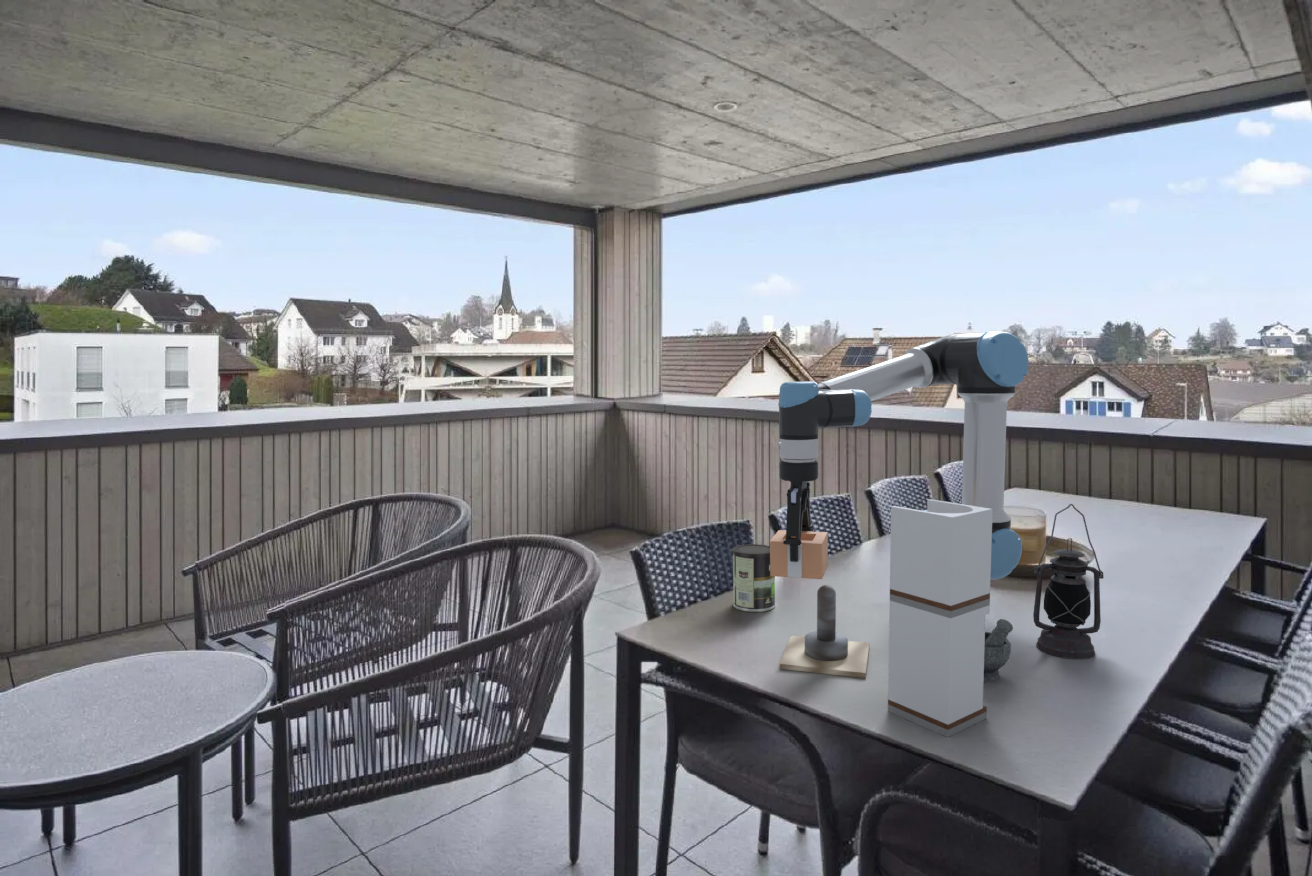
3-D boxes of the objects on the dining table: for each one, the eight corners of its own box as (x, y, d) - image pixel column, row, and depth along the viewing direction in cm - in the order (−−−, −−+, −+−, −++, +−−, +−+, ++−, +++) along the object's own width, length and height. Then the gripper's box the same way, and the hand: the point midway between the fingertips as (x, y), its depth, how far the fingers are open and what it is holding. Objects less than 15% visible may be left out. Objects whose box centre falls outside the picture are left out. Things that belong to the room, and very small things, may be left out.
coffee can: (776, 600, 191) (776, 544, 189) (774, 613, 181) (774, 554, 179) (734, 598, 193) (734, 543, 191) (730, 611, 183) (730, 553, 181)
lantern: (1094, 643, 159) (1100, 500, 156) (1105, 662, 149) (1112, 509, 146) (1028, 637, 163) (1033, 497, 160) (1035, 655, 153) (1040, 506, 150)
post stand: (869, 647, 158) (870, 577, 157) (865, 678, 143) (866, 600, 142) (791, 640, 163) (791, 571, 162) (779, 668, 148) (779, 593, 147)
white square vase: (986, 718, 126) (992, 508, 123) (947, 737, 120) (953, 517, 117) (926, 694, 136) (930, 499, 132) (887, 710, 130) (891, 506, 126)
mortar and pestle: (942, 670, 146) (943, 608, 145) (977, 661, 150) (979, 601, 149) (990, 692, 136) (992, 626, 135) (1027, 682, 140) (1029, 618, 139)
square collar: (827, 565, 157) (827, 532, 156) (822, 579, 148) (821, 543, 147) (779, 562, 160) (778, 530, 160) (770, 576, 151) (769, 541, 150)
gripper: (788, 452, 164) (789, 554, 166) (769, 467, 142) (770, 584, 145) (824, 453, 161) (824, 556, 163) (810, 468, 140) (810, 587, 142)
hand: (799, 569), depth 154 cm, fingers closed on square collar, 10 cm apart
